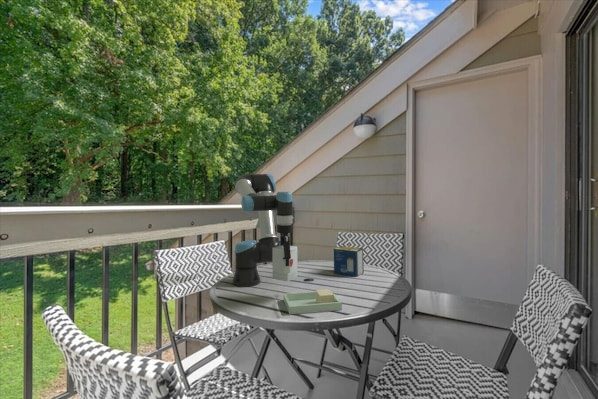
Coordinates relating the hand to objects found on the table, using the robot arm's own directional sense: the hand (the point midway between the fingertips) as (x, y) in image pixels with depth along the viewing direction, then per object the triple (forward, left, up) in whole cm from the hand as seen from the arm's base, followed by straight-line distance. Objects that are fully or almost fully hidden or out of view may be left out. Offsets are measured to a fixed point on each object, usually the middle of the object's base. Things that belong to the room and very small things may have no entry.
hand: (285, 269), depth 149 cm
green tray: (+16, +9, -13) cm, 22 cm away
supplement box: (0, 0, -4) cm, 4 cm away
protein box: (-35, +44, -14) cm, 58 cm away
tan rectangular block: (+16, +15, -12) cm, 25 cm away
